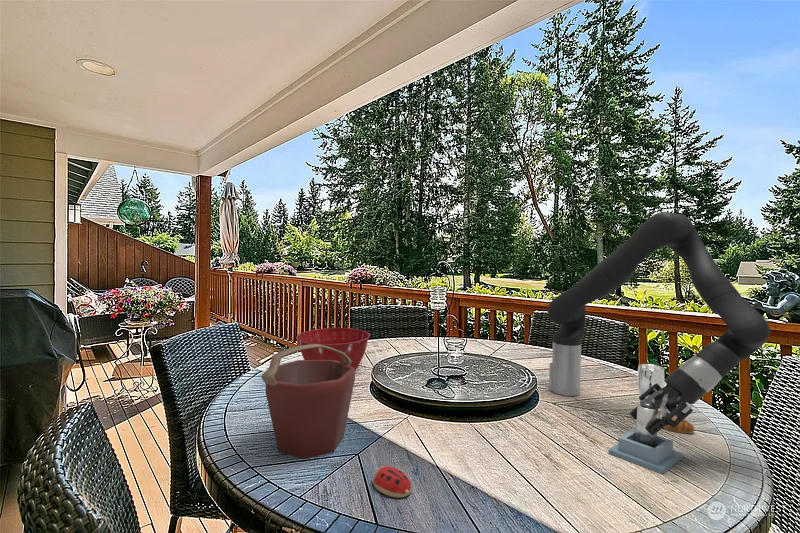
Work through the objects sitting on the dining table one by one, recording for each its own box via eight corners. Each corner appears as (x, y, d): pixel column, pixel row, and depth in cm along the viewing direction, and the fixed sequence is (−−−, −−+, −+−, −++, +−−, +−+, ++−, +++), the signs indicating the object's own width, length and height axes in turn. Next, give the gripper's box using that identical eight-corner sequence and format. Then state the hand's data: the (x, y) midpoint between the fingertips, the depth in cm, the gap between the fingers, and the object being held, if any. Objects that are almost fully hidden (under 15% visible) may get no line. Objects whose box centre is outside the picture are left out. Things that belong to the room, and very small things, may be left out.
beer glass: (667, 422, 122) (669, 371, 121) (640, 420, 123) (642, 369, 123) (657, 413, 129) (659, 364, 128) (632, 411, 130) (634, 363, 129)
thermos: (629, 449, 103) (631, 402, 103) (638, 443, 107) (641, 397, 106) (652, 458, 99) (655, 409, 99) (661, 452, 103) (664, 404, 102)
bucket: (267, 473, 94) (266, 362, 93) (252, 433, 114) (251, 341, 112) (368, 449, 105) (369, 350, 104) (339, 417, 125) (339, 333, 124)
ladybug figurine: (387, 473, 95) (387, 458, 95) (420, 491, 88) (420, 475, 88) (364, 485, 90) (364, 469, 90) (397, 505, 83) (397, 488, 83)
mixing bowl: (366, 385, 153) (366, 343, 152) (287, 384, 154) (287, 342, 153) (372, 363, 181) (372, 327, 181) (306, 363, 182) (305, 327, 181)
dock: (608, 453, 104) (608, 437, 104) (630, 439, 111) (630, 424, 111) (662, 474, 94) (663, 456, 94) (682, 457, 102) (683, 441, 102)
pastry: (697, 431, 117) (698, 417, 117) (688, 438, 113) (689, 424, 113) (660, 420, 124) (660, 407, 124) (650, 426, 120) (651, 413, 120)
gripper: (666, 360, 108) (617, 402, 110) (698, 377, 94) (642, 425, 96) (687, 381, 108) (638, 423, 110) (723, 402, 93) (666, 449, 95)
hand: (640, 424), depth 103 cm, fingers open, 8 cm apart
